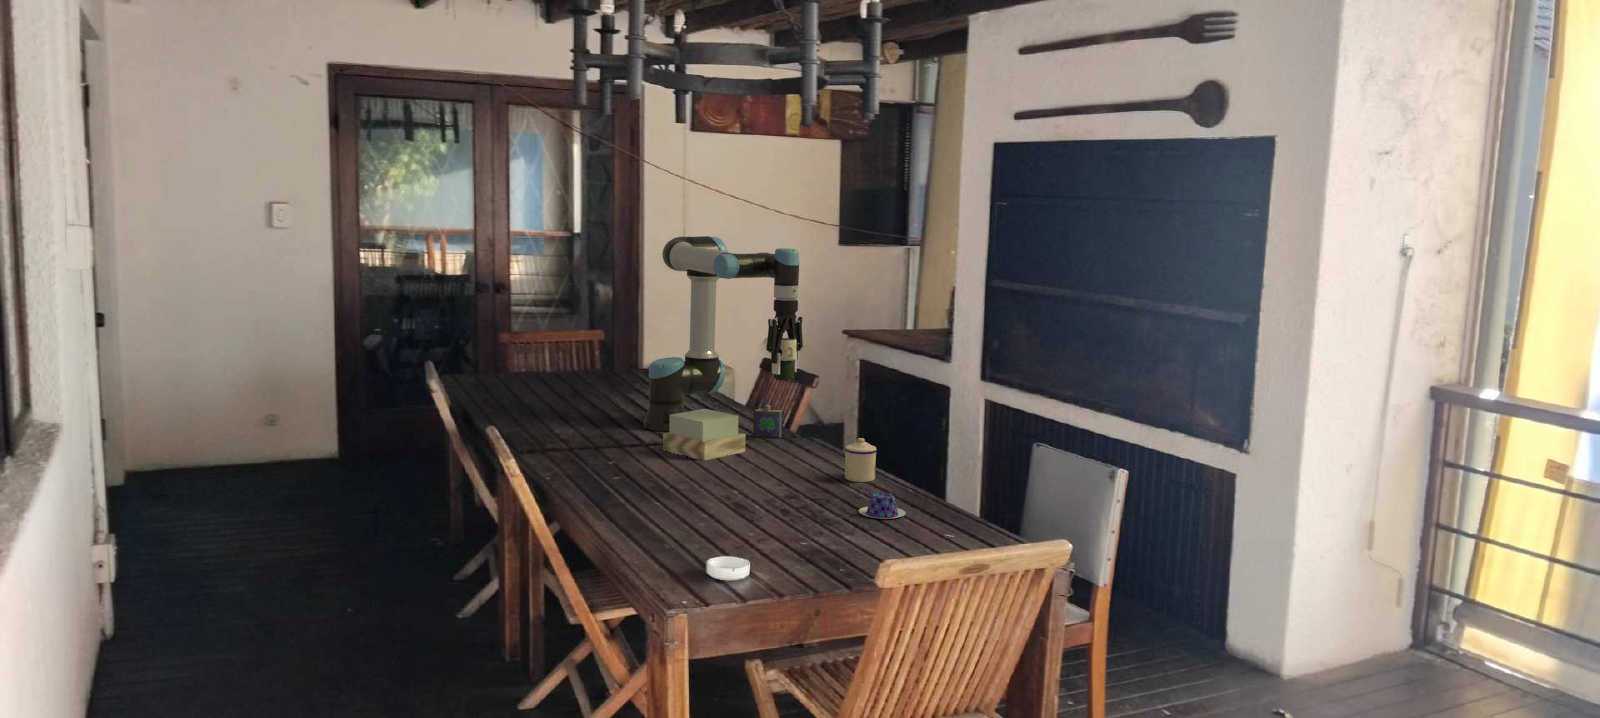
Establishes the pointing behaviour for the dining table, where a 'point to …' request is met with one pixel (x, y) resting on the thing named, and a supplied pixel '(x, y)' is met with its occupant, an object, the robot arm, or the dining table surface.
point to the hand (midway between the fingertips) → (784, 372)
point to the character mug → (786, 359)
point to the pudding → (882, 507)
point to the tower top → (703, 424)
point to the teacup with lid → (860, 461)
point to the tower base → (704, 446)
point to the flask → (767, 423)
